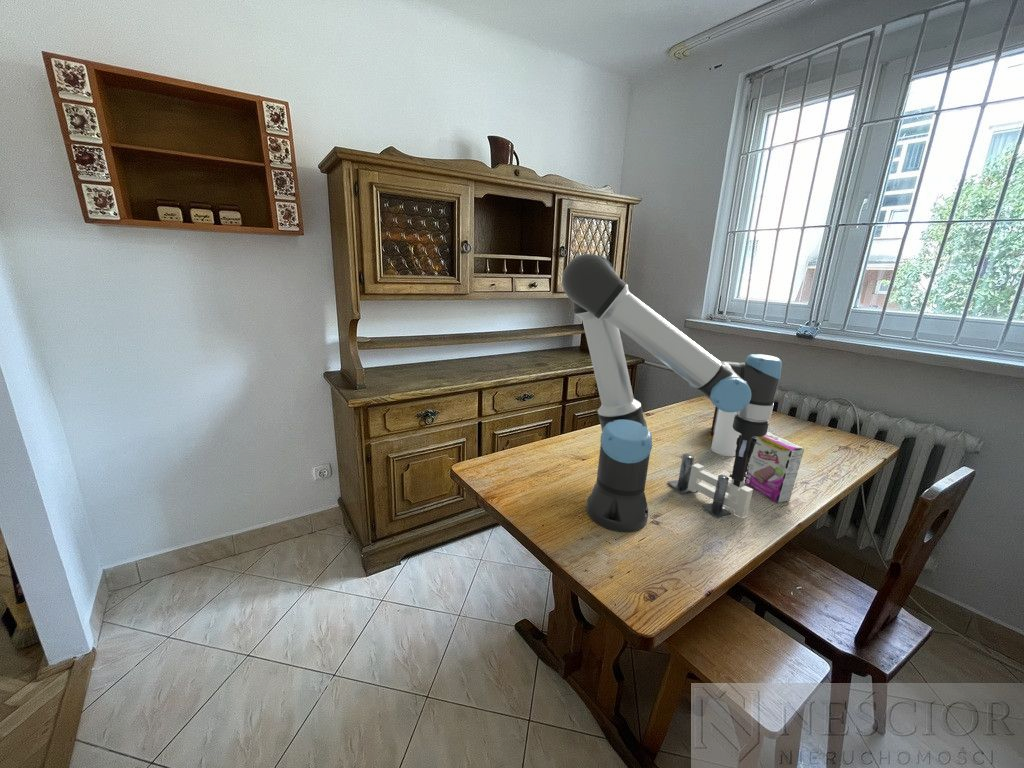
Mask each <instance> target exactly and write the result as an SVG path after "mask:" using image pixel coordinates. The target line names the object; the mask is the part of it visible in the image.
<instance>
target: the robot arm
mask: <svg viewBox="0 0 1024 768" xmlns="http://www.w3.org/2000/svg"><path fill="white" fill-rule="evenodd" d="M561 281H562V283H561V284H562V288H563V291H564V294H566V297H567V298H569V300H570V301H571V304H572V309H573V312H574V315H575V316H576V317H578V318H580V319H581V320H582V324H583V328H584V334H585V338H586V342H587V347H588V351H589V355H590V356H589V357H590V359H591V364H592V368H593V373H594V376H595V381H596V385H597V389H598V395H599V398H600V403H601V405H600V406H599V408H598V410H597V416H598V419H599V424H600V429H601V434H600V441H599V442H600V447H599V456H598V463H597V464H598V466H597V472H596V473H597V474H596V481H595V484H594V486H593V488H592V491H591V493H590V494H589V496H587V497H588V498H587V501H586V513H587V515H588V517H589V518H590V519H591V520H592V521H593V522H594V523H596V524H597V525H599V526H601V527H603V528H605V529H608V530H611V531H615V532H620V533H621V532H624V533H628V532H629V533H630V532H631V533H632V532H636V531H639V530H641V529H643V528H644V527H646V525H647V523H648V519H649V507H648V503H647V502H648V501H647V497H646V493H645V488H646V483H647V477H648V476H647V475H648V469H649V465H650V464H649V462H650V455H651V453H652V448H653V435H652V432H651V431H650V430H649V428H648V425H647V421H646V419H645V416H644V412H643V407H642V403H641V402H640V401H639V400H637V399H635V397H634V394H633V388H632V385H631V380H630V379H631V378H630V374H629V370H628V365H627V360H626V356H625V351H624V346H623V341H622V337H621V332H623V334H625V335H626V336H628V337H629V338H631V340H633V342H636V343H637V344H639V346H640V347H642V348H644V349H645V350H646V351H648V353H650V354H651V355H652V356H653V357H655V358H656V359H657V360H659V361H660V362H662V363H663V364H664V365H666V366H667V367H668V368H669V369H671V370H672V371H673V372H675V373H676V374H677V375H679V376H680V377H681V378H682V379H683V380H684V381H687V383H688V384H689V386H690V388H692V389H696V390H697V391H698V392H700V393H701V394H703V395H704V396H705V397H707V398H708V399H709V400H710V401H711V402H712V405H714V406H715V407H717V408H718V409H720V410H722V411H724V412H736V413H737V414H736V415H735V417H734V421H733V429H734V430H735V431H737V432H739V433H740V434H741V435H739V438H737V442H736V444H737V448H736V450H735V451H736V452H735V453H736V454H735V456H734V462H733V467H732V472H731V473H729V476H728V478H731V482H730V483H731V484H733V485H736V486H738V487H740V488H741V487H743V486H744V484H745V483H744V482H745V478H748V476H749V475H747V471H748V465H749V461H750V457H751V454H752V453H753V450H754V446H755V444H756V442H757V439H756V437H761V436H764V435H766V434H767V432H768V430H769V429H768V428H769V425H770V421H769V420H771V419H772V418H771V417H772V414H773V409H774V402H775V398H776V394H777V391H778V387H779V383H780V380H781V374H782V369H783V368H782V367H783V361H782V360H781V359H780V358H779V357H777V356H773V355H768V354H761V353H757V354H755V353H752V354H748V355H747V356H746V359H745V361H744V362H743V361H741V362H738V361H728V360H727V361H726V360H719V359H718V358H716V357H715V356H713V354H711V353H709V352H708V351H707V350H705V349H704V348H703V347H702V346H701V345H699V344H698V343H696V342H695V341H694V340H692V339H691V338H690V337H689V336H687V335H686V334H685V333H684V332H682V331H681V330H679V329H678V328H677V327H676V326H674V325H673V324H672V323H671V322H669V321H668V320H667V319H665V318H664V317H663V316H662V315H660V314H659V313H657V312H656V311H655V310H654V309H652V308H651V307H650V306H649V305H647V304H645V302H643V301H642V300H640V298H638V297H637V296H636V295H634V294H633V293H632V292H630V290H629V284H628V283H626V281H624V280H623V279H621V278H620V277H619V276H618V275H617V274H616V272H615V268H614V267H613V265H612V263H611V262H610V261H609V260H608V259H607V258H605V257H604V256H601V255H600V254H599V255H598V254H591V253H584V254H580V255H577V256H576V257H574V258H573V259H571V261H570V262H568V264H567V265H566V266H565V268H564V270H563V274H562V279H561ZM620 331H621V332H620ZM727 495H728V496H730V497H732V498H734V499H736V500H737V499H738V498H737V497H735V496H733V495H731V494H729V493H727Z"/></svg>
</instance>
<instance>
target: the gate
mask: <svg viewBox="0 0 1024 768" xmlns="http://www.w3.org/2000/svg"><path fill="white" fill-rule="evenodd" d="M717 480H718V476H716V475H715V474H713V473H710V472H709V471H706V470H705V467H704V465H702V464H700V463H698V462H697V463H695V464H694V463H693V465H692V468H691V473H690V479H689V484H688V490H690V491H692V492H693V493H696V491H698V492H697V493H701V494H703V495H705V496H706V497H707V498H710V499H712V500H713V499H714V494H715V489H716V485H717ZM702 481H703V482H702ZM704 482H705V483H704ZM706 483H707V484H706ZM708 484H709V485H708ZM710 485H711V486H710ZM712 486H713V487H712ZM714 487H715V488H714ZM753 491H754V488H752V487H750V486H748V485H743V487H741V488H740V487H738V486H736V485H733V484H731V482H729V481H728V485H727V489H726V493H727V494H725V498H724V503H723V506H725V507H727V508H729V509H731V510H732V511H734V512H733V514H734V515H735V516H737V517H739V518H741V519H742V518H745V517H746V516H747V515H748V512H749V508H750V505H751V501H752V497H753ZM728 494H731V495H733V496H735V497H737V498H738V499H737V500H736V499H734V498H732V497H730V496H728Z"/></svg>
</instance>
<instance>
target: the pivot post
mask: <svg viewBox="0 0 1024 768" xmlns="http://www.w3.org/2000/svg"><path fill="white" fill-rule="evenodd" d="M681 458H682V459H681V463H680V469H679V475H678V479H677V480H671V481H667V485H668V486H670V487H671V488H672V489H674V490H675V491H676V492H677V493H679V494H681V495H682V496H683V495H686V494H687V495H688V494H692V493H694V492H692V491H690V490H688V484H689V479H690V473H691V468H692V465H694V462H695V455H693V454H690V453H683V454H682V457H681ZM696 492H697V493H699V492H698V491H696ZM696 492H695V493H696Z"/></svg>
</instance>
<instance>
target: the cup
mask: <svg viewBox="0 0 1024 768" xmlns="http://www.w3.org/2000/svg"><path fill="white" fill-rule="evenodd" d="M736 414H737V413H736V412H724V411H722V410H720V409H719V412H718V417H717V422H716V427H715V432H714V437H713V440H712V441H711V442H712V443H711V448H710V449H711V451H712V452H714V453H715V454H718V455H720V456H724V457H735V454H736V453H735V452H736V451H735V450H736V448H737V444H736V442H737V438H739V435H741V434H740V433H739V432H737V431H735V430H734V429H733V421H734V417H735V415H736Z"/></svg>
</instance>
